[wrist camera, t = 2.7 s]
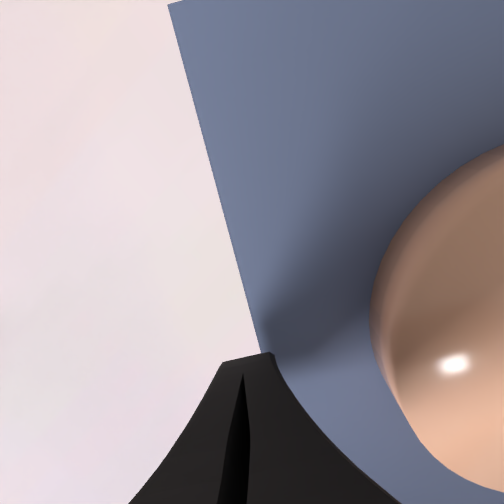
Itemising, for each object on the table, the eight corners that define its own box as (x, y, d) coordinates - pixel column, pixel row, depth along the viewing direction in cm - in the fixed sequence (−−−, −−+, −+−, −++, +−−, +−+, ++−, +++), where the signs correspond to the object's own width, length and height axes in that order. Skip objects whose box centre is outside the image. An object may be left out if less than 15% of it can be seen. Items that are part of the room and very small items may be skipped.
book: (622, 437, 16) (705, 505, 13) (308, 501, 17) (322, 580, 14) (658, -91, 10) (814, -172, 8) (186, 35, 11) (167, 4, 8)
